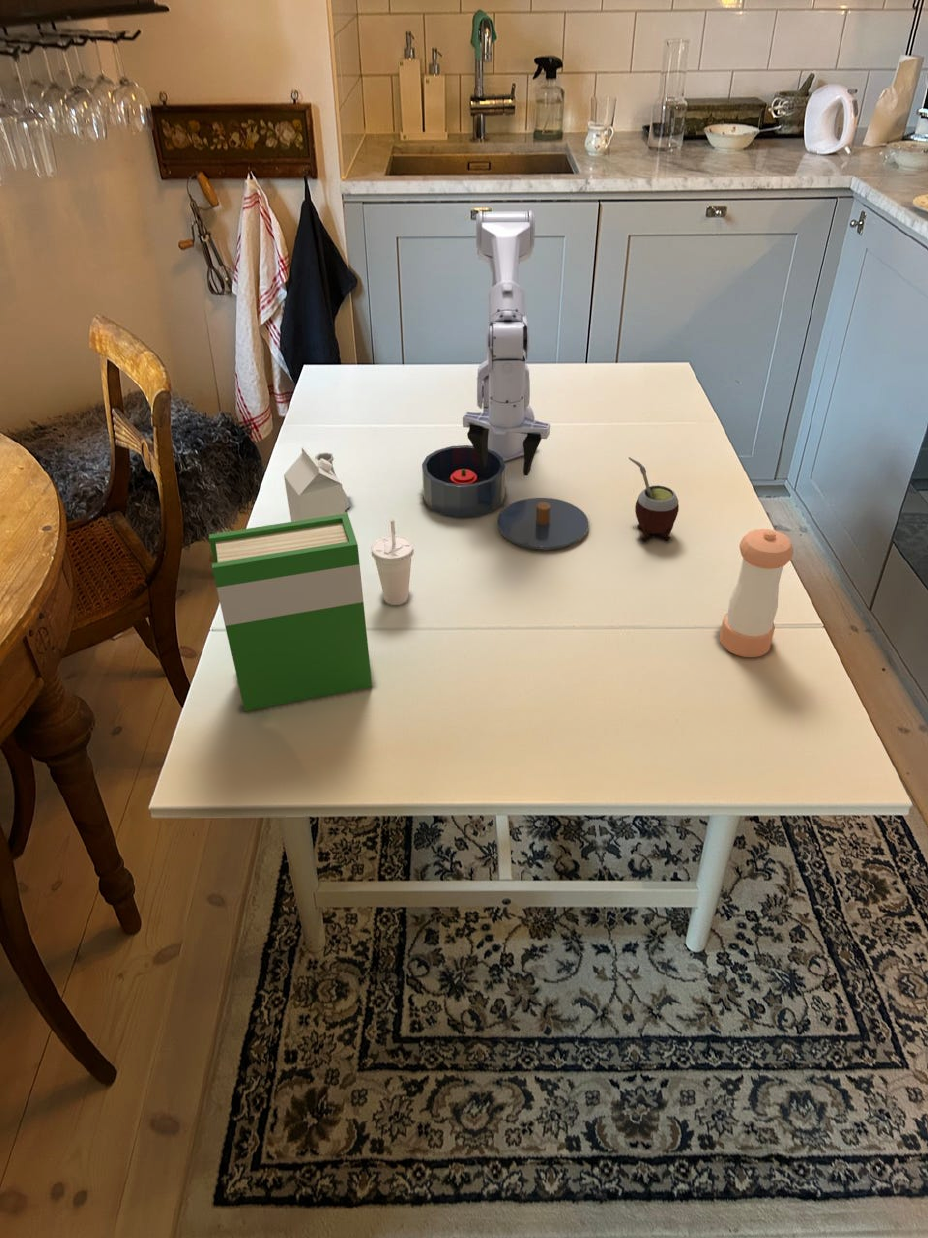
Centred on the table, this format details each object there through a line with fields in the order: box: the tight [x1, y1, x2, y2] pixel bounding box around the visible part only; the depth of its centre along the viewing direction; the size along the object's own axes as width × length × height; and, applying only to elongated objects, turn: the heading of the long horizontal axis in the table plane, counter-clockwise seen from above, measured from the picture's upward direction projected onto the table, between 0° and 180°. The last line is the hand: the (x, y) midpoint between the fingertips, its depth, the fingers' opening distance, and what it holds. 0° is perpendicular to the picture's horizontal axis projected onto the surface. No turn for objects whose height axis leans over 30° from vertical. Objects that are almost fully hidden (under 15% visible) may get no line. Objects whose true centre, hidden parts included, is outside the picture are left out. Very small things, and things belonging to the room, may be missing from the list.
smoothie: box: [370, 518, 415, 606], centre depth 142 cm, size 6×6×14 cm
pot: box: [421, 444, 507, 518], centre depth 168 cm, size 15×15×6 cm
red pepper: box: [450, 469, 477, 484], centre depth 168 cm, size 5×5×5 cm
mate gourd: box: [628, 456, 680, 543], centre depth 155 cm, size 8×8×15 cm
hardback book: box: [208, 512, 373, 712], centre depth 124 cm, size 18×7×24 cm, turn 105°
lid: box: [497, 497, 589, 550], centre depth 160 cm, size 16×16×4 cm
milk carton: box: [283, 446, 346, 522], centre depth 149 cm, size 7×7×19 cm
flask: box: [314, 452, 351, 511], centre depth 165 cm, size 7×7×10 cm
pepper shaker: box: [719, 528, 794, 658], centre depth 131 cm, size 7×7×19 cm
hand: (505, 469), depth 160 cm, fingers open, 7 cm apart
